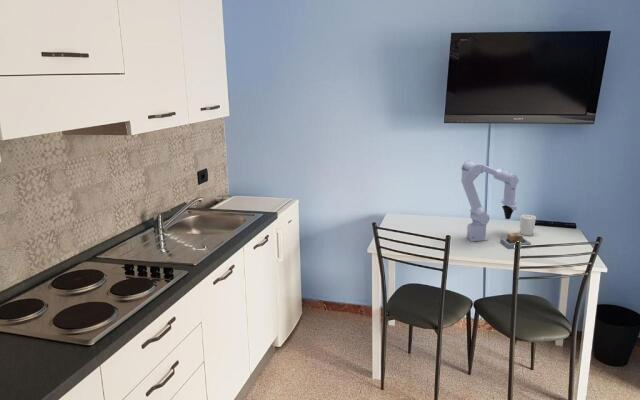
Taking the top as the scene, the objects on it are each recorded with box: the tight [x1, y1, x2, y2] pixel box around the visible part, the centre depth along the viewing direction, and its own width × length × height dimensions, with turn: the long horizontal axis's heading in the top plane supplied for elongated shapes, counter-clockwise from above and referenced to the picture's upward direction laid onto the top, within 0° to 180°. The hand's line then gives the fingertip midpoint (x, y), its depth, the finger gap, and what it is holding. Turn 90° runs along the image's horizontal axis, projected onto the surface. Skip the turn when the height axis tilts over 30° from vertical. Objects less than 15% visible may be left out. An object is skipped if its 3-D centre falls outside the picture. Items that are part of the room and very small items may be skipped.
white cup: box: [519, 214, 537, 236], centre depth 275 cm, size 8×8×10 cm
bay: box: [499, 237, 532, 250], centre depth 260 cm, size 12×10×2 cm
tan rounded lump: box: [505, 232, 524, 244], centre depth 262 cm, size 8×5×5 cm, turn 91°
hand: (507, 218), depth 273 cm, fingers closed
